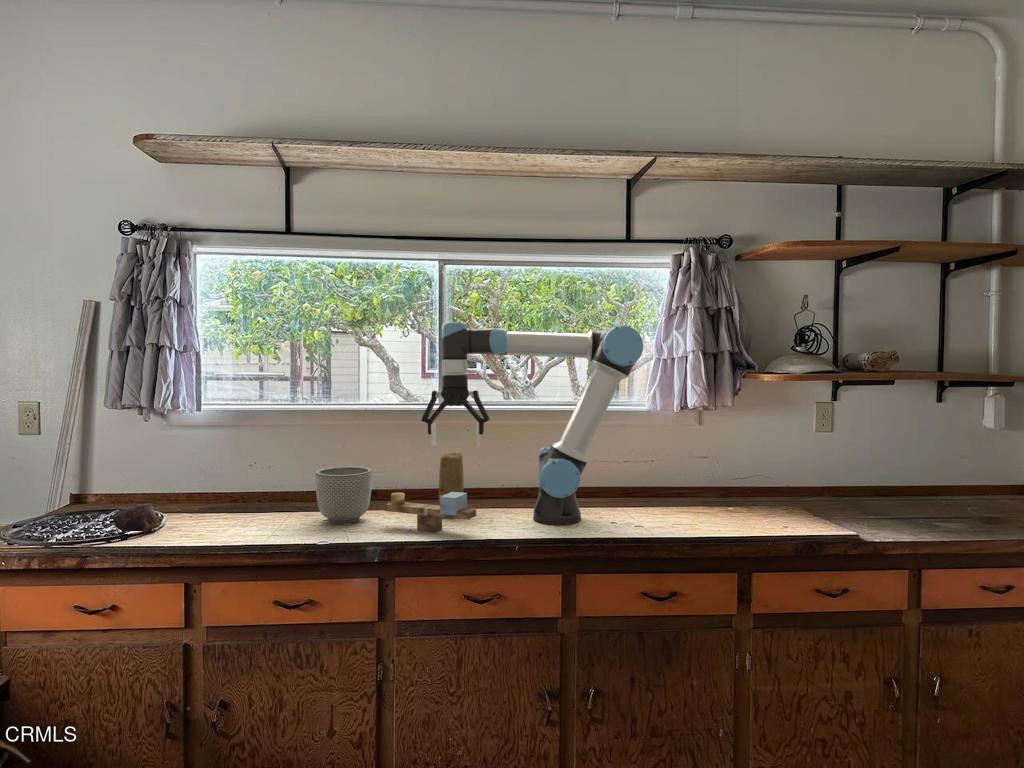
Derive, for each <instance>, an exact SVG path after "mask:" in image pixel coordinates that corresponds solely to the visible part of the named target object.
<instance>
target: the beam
mask: <svg viewBox="0 0 1024 768" xmlns="http://www.w3.org/2000/svg"><path fill="white" fill-rule="evenodd" d="M405 495H406V494H405V493H404V492H400V491H399V492H392V493H391V494H390V496H391V497H390V498H391V499H390V500H391V501H390V502H388V503H386V504H384V512H390V513H401V514H410V515H416V525H417V526H416V527H417V529H416V530H417V532H422V533H423V532H424V533H430V534H431V533H432V534H433V533H434V534H435V533H438V532H439V531H441V530H443V518H446V519H447V518H449V519H459V520H471V519H473V518H474V517H477V508H468V507H467V508H463V509H461V510H459V511H457V515H446V514H440V506H439V504H438V505H437V504H426V503H417V502H408V501H407V502H406V500H405V499H406V498H405V497H406V496H405Z"/></svg>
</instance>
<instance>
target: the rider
mask: <svg viewBox="0 0 1024 768" xmlns="http://www.w3.org/2000/svg"><path fill="white" fill-rule="evenodd" d="M463 508H468V492H463V493H461V492H450V493H448V494H445V495H443V496H440V514H446V515H457V511H459V510H461V509H463Z"/></svg>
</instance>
